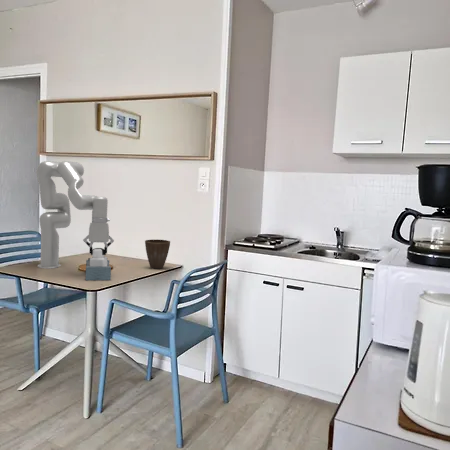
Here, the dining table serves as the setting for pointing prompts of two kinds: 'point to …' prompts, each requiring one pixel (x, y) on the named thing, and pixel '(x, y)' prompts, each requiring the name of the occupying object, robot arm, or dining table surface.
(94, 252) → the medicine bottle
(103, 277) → the base
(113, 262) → the dining table surface
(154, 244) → the plant pot
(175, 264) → the dining table surface
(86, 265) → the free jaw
